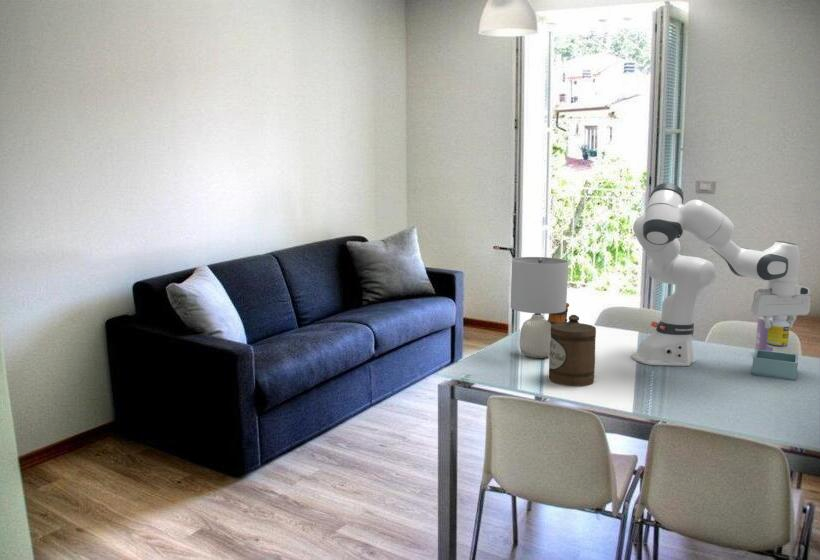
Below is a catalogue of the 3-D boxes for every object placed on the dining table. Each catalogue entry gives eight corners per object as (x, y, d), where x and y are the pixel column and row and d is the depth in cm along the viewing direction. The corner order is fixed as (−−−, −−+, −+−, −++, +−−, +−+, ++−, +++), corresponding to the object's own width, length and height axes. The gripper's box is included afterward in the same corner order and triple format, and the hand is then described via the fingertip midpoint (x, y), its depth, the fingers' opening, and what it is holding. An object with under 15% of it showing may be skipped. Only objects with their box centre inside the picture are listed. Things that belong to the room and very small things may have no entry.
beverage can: (774, 358, 270) (778, 319, 268) (758, 358, 270) (762, 319, 268) (767, 354, 276) (771, 316, 274) (751, 354, 276) (755, 316, 274)
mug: (558, 334, 305) (559, 307, 303) (539, 330, 312) (540, 304, 311) (576, 330, 313) (578, 304, 311) (557, 326, 321) (559, 300, 319)
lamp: (537, 346, 282) (541, 254, 277) (575, 358, 266) (580, 260, 260) (497, 353, 271) (500, 257, 266) (534, 366, 255) (539, 263, 249)
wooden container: (545, 373, 246) (548, 310, 243) (588, 374, 246) (592, 311, 242) (552, 386, 231) (555, 319, 228) (598, 387, 231) (602, 320, 228)
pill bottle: (779, 350, 245) (782, 316, 243) (762, 345, 250) (765, 313, 249) (791, 348, 248) (794, 315, 246) (774, 344, 253) (777, 311, 252)
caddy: (795, 380, 241) (797, 363, 241) (751, 374, 248) (753, 357, 247) (796, 371, 253) (798, 354, 252) (754, 365, 260) (755, 349, 259)
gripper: (761, 290, 241) (757, 330, 243) (815, 289, 245) (810, 329, 247) (749, 287, 247) (745, 326, 249) (802, 286, 251) (798, 325, 253)
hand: (778, 327), depth 248 cm, fingers closed on pill bottle, 6 cm apart
